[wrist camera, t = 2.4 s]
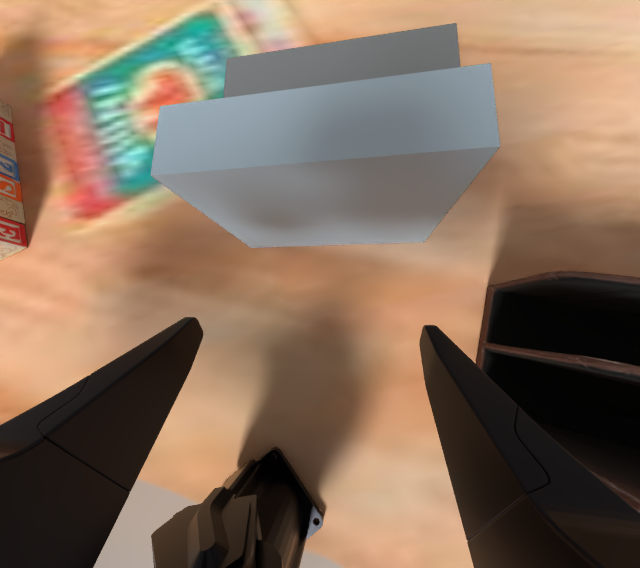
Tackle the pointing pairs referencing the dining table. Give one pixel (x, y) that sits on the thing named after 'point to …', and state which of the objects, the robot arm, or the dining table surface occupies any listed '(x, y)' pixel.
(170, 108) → the blue slab
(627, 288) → the letter holder
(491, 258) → the dining table surface
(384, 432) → the dining table surface
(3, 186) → the stack of blocks
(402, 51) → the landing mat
